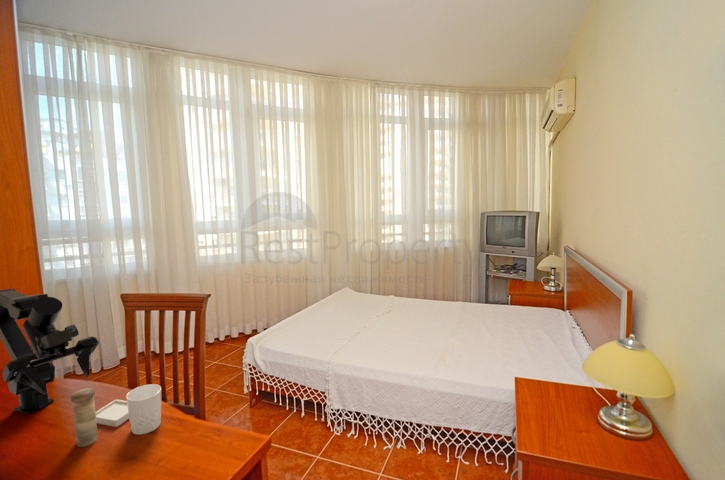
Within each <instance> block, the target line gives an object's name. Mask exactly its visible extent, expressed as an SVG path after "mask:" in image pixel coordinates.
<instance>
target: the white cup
mask: <svg viewBox="0 0 725 480" xmlns="http://www.w3.org/2000/svg"><path fill="white" fill-rule="evenodd" d="M125 398H126V401H127V406H128V414H129V422H130V427H131V429H130V431H131V432H132V434H134V435H141V436H142V435H146V434H149V433H151V432H153V431H155V430H157V429H158V428H159V426H160V425H161V424H162V421H161V420H162V387H161V385H159V384H156V383H152V384H151V383H150V384H144V385H140V386H137V387H135V388H133V389H132V390H130V391H129V392H128V393H127V394H126V396H125Z"/></svg>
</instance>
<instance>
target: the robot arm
mask: <svg viewBox="0 0 725 480" xmlns="http://www.w3.org/2000/svg"><path fill="white" fill-rule="evenodd" d="M62 308H63V302H62V301H61V300H60V299H58V298H55V297H52V296H49V295H48V294H47V293H43V294H42V293H41V294H39V293H38V294H32V295H27V294H24V293H21V292H19V291H16V289H15V288H5V289H0V340H1V342H2V344H3V346H4V347H5V349H6V351H7V353H8V355H9V356H10V358H11V360H10V361H8V362H7V363H6V364H5V366H4V369H3V372H2V378H3V380H4V382H5V383H7V386H8V389H9V392H10V393H12V394H13V395H14V396H18V403H19V405H18V406H17V407H15V408H13V411H14V412H18V413H24V414H29V415H30V414H33V413H35V412H36V411H38V410H41V409H43V408H44V407H46V406H48V405H50V404H51V403H53V402H55V399H53V398H50V397H49V393H48V388H47V386H48V384H50V383H54V380H55V371H56V366H55V365H54V364H53V363H52V362H54V361H57V360H60V359H63V358H65V357H69V356H73V355H75V357H77V358H76V362H77V364H78V365H79V367H80V369H81V371H82V374H84V376H85V377H86V378H89V377H90V374H91V373H90V356H91V355H92V354H93V353H94V352H95V350H96V348H97V347H98V346H99V344H100V342H99V340H98V338H97V337H96V336H92V335H91V336H89V337H86V338H83V339H80V340H78V341H77V342H76V344H75V345H74V346H72V347H69V345H70V343H69V342H72V341H73V338H77V336H79V334H80V333H79V330H78V327H77V326H76V325H75V324H72V325H67V326H66V327H64V330H63V329H62V330H60V329H57V328H56V325H55V323H56V322H57V319H58V317H59V315H60V313H61V310H62ZM23 319H25V320H24V322H23V324H22V328H23V331H22V329H21V327H20V326H19V324H18V322H17V321H20V320H23ZM24 333H25V334H24ZM25 335H26V336H25ZM66 347H69V348H66Z"/></svg>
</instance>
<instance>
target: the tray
mask: <svg viewBox="0 0 725 480" xmlns="http://www.w3.org/2000/svg"><path fill="white" fill-rule="evenodd" d="M95 412H96V423H97V425H98V424H99V425H105V426H109V427H110V426H111V427H115V428H117V427H119V426H120V425H122V424H123V423H125V422H126V421H127V420H128V419H129V414H128V406H127V400H122V399H116V398H115V399H114V400H112V401H111V402H109V403H108V404H106V405H104V406H103V407H101V408H99V409H98V410H97V411H96V410H95ZM129 420H130V419H129Z"/></svg>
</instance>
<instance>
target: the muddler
mask: <svg viewBox="0 0 725 480" xmlns="http://www.w3.org/2000/svg"><path fill="white" fill-rule="evenodd" d="M95 393H96V391H95V388H92V387H86V388H82V389H78V390H76V391H74V392H73V393H72V394H71V395H70V401H71V402H72V412H73V420H74V422H73V423H74V431H75V433H74V434H75V440H76V443H75V444H76V446H77V447H79V448H83V447H84V448H85V447H88V446H90V445H92V444H94V443H95V442H96V441H97V440H98V438H99V436H98V434H99V433H98V426H97V425H98V423H96V403H95V395H96V394H95Z"/></svg>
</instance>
